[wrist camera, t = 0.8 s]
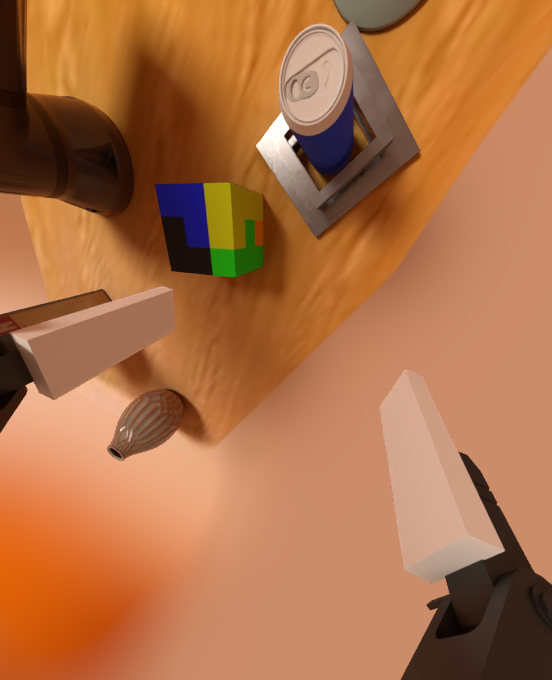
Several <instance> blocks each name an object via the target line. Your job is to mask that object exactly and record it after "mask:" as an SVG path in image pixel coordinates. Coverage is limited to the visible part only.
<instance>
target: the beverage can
mask: <svg viewBox="0 0 552 680" xmlns="http://www.w3.org/2000/svg"><path fill="white" fill-rule="evenodd" d="M279 103H280V108H281V112H282V115H283V118H284V120H285V122H286V123H287V125H288V126H289V128H290V130H291V131H292V133H293V134H294V136H295V138H296V139H297V141H298V142H299V144H300V145H301V147H302V149H303V150H304V152H305V153H306V155H307V157H308V158H309V160H310V161H311V163H312V165H313V166H314V168H315V169H316V170H317V171H318V172H320V173H322V174H326V175H330V174H334V173H336V172H338V171H340V170H341V169H342V168H343V167H344V166H345V165H346V163H347V162H348V160H349V158H350V156H351V154H352V150H353V61H352V56H351V52H350V50H349V47H348V45H347V43H346V42H345V40H344V39H343V38H342V37H341V35H340V34H339V33H338V32H337V31H336V30H335V29H334V28H332V27H331V26H329V25H326V24H315V25H311V26H309V27H307V28H306V29H304V30H303V31H301V32H300V33H299V34H298V35H297V36H296V38H295V39H294V40H293V41H292V43H291V45H290V46H289V48H288V50H287V52H286V54H285V56H284V59H283V62H282V66H281V70H280V77H279Z"/></svg>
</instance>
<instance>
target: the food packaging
mask: <svg viewBox="0 0 552 680" xmlns="http://www.w3.org/2000/svg"><path fill="white" fill-rule="evenodd" d="M111 301H112V300H111V299H110V298H109V297H108V295H107V294H106V292H105V291H104V290H103V289H100V290H97V291H93V292H89V293H85V294H81V295H77V296H73V297H69V298H65V299H61V300H57V301H53V302H49V303H45V304H41V305H37V306H33V307H28V308H24V309H20V310H16V311H12V312H9V313H4V314H1V315H0V336H1V335H5V334H8V333H9V332H13V331H16V330H19V329H23V328H26V327H29V326H32V325H36V324H39V323H42V322H46V321H49V320H52V319H55V318H59V317H62V316H65V315H68V314H72V313H75V312H78V311H82V310H85V309H88V308H91V307H95V306H98V305H101V304H104V303H108V302H111Z"/></svg>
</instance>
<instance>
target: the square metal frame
mask: <svg viewBox="0 0 552 680" xmlns="http://www.w3.org/2000/svg"><path fill="white" fill-rule="evenodd" d="M341 37H342V38H343V39H344V40H345V42H346V43H347V45H348V47H349V50H350V52H351V56H352V61H353V116H354V118H355V120H356V121H357V123H358V125H359V127H360V129H361V130H362V132H363V134H364V136H365V138H366V139H367V141H368V143H369V145H368V146H367V147H366V148H365V149H364V150H363V151H362V152H361V153H360V154H359V155H357V156H356V157H355V158H354V159H353V160H352V161H351V162H350V163H349V164H348V165H347V166H346V167H345V168H344V169H343V170H342V171H341V172H340V173H339V174H338V175H336V176H335V177H334V178H333V179H332V180H331V181H330V182H329V183H328V184H327V185H326V186H325V187H324V188H323V189H322V190H321V191H319V189H318V188H317V186H316V184H315V183H314V181H313V180H312V178H311V176H310V175H309V173H308V172H307V170H306V168H305V167H304V165H303V164H302V162H301V160H300V159H299V157H298V156H297V154H296V152H295V151H294V148H295V147H296V145H297V144H298V143H299V142H298V141H297V139H296V138H295V136H294V134H293V133H292V131H291V130H290V128H289V126H288V125H287V123H286V122H285V120H284V118H283V115H282V112H281V114H280V115H279V116H278V118H277V119H276V120H275V122H274V123H273V124H272V126H271V127H270V128H269V129H268V131H267V132H266V133H265V135H264V136H263V137H262V139H261V140H260V141H259V143H258V144H257V145H256V147H257V149H258V150H259V152H260V153H261V155H262V156H263V158H264V159H265V161H266V162H267V164H268V165H269V167H270V168H271V170H272V171H273V173H274V174H275V176H276V177H277V179H278V180H279V182H280V184H281V185H282V187H283V188H284V190H285V191H286V193H287V194H288V196H289V197H290V199H291V200H292V202H293V203H294V205H295V206H296V208H297V209H298V211H299V212H300V214H301V215H302V217H303V218H304V220H305V222H306V223H307V225H308V226H309V228H310V229H311V231H312V232H313V234H314V235H315V237H318V236H319V235H320V234H321V233H323V232H324V231H325V230H326V229H327V228H329V227H330V226H331V225H332V224H333V223H335V222H336V221H337V220H338V219H339V218H341V217H342V216H343V215H344V214H345V213H347V212H348V211H349V210H350V209H351V208H353V207H354V206H355V205H356V204H357V203H359V202H360V201H361V200H362V199H363V198H365V197H366V196H367V195H368V194H369V193H371V192H372V191H373V190H374V189H375V188H377V187H378V186H379V185H380V184H381V183H383V182H384V181H385V180H386V179H387V178H389V177H390V176H391V175H392V174H393V173H395V172H396V171H397V170H398V169H399V168H401V167H402V166H403V165H404V164H405V163H406V162H408V161H409V160H410V159H411V158H412V157H414V156H415V155H416V154H417V153H418V152H419V151H420V149H419V147H418V145H417V143H416V141H415V139H414V137H413V135H412V134H411V132H410V130H409V128H408V126H407V124H406V122H405V120H404V118H403V116H402V114H401V112H400V110H399V108H398V106H397V104H396V102H395V100H394V98H393V96H392V95H391V93H390V91H389V89H388V87H387V85H386V83H385V81H384V79H383V77H382V75H381V73H380V71H379V69H378V67H377V65H376V63H375V61H374V59H373V57H372V56H371V54H370V52H369V50H368V48H367V46H366V44H365V42H364V40H363V38H362V36H361V34H360V32H359V30H358V28H357V26H356V24H355V22H354V20H353V19H352V21H351V22H350V23H349V24H348V26H347V27H346V28H345V30H344V31H343V32H342V34H341Z"/></svg>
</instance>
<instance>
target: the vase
mask: <svg viewBox="0 0 552 680" xmlns="http://www.w3.org/2000/svg"><path fill="white" fill-rule="evenodd" d="M183 416H184V406H183V401H182V399H181V398H180V397H179V395H177V394H176V393H175V392H173V391H170V390H164V389H157V390H152V391H149V392H146V393H144V394H142V395H140V396H139V397H138V398H136V399H135V400H134V401H133V402H131V403H130V404H129V405H128V406H127V408H126V409H125V410H124V412H123V413H122V415H121V417H120V419H119V421H118V424H117V427H116V431H115V434H114V438H113V440H112V442H111V444H110V445H109V446H108V447H107V450H108V452H109V454H110V455H112V457H114V458H115V459H117V460H119V461H123V460H124V459H125V458H127V457H129V456H131V455H133V454H138V453H142V452H145V451H148V450H151V449H154V448H156V447H158V446H160V445H161V444H163V443H164V442H166V441H167V440H168V439H169V438H170V437H171V436H172V435H173V434H174V433H175V432H176V431H177V429H178V428H179V426H180V424H181V422H182V419H183Z"/></svg>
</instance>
